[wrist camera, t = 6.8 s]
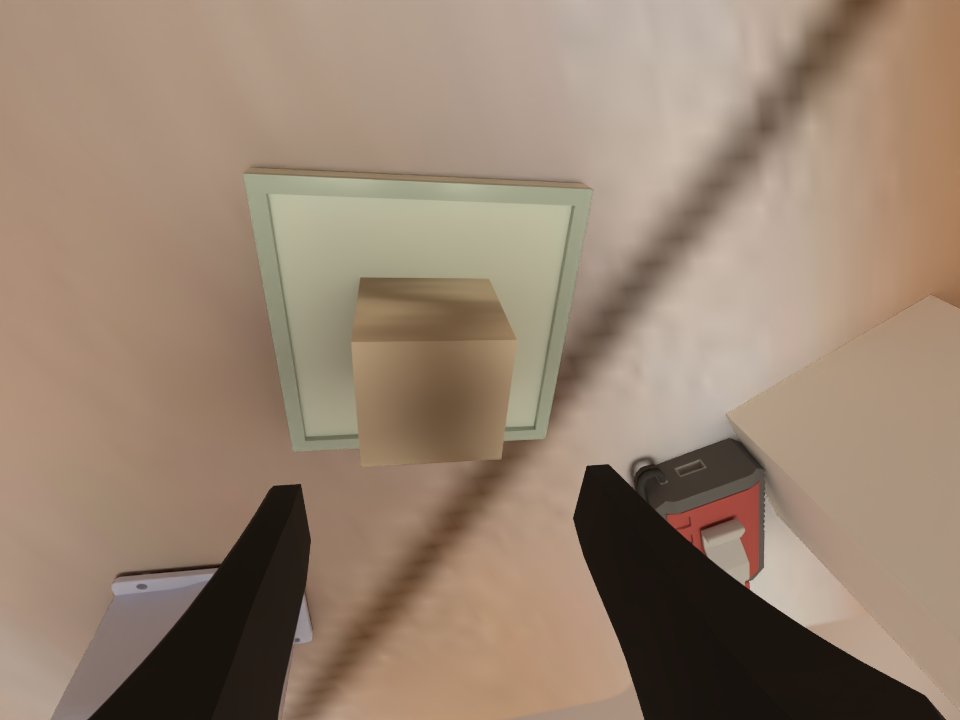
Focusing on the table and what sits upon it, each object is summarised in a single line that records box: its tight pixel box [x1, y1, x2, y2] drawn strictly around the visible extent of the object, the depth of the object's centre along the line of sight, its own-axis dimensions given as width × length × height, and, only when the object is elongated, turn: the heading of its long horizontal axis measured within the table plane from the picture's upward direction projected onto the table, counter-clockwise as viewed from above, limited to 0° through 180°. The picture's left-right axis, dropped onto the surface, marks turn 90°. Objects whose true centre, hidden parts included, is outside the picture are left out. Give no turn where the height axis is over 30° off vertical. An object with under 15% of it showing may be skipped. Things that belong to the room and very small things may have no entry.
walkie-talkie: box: [634, 438, 765, 590], centre depth 31 cm, size 9×4×20 cm
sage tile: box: [243, 168, 593, 452], centre depth 20 cm, size 12×12×1 cm
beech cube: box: [351, 277, 517, 467], centre depth 17 cm, size 5×5×5 cm
